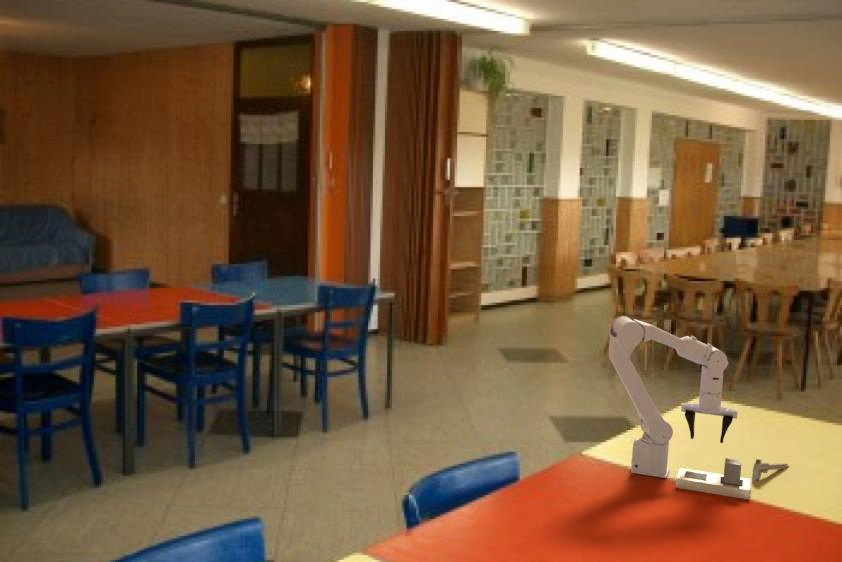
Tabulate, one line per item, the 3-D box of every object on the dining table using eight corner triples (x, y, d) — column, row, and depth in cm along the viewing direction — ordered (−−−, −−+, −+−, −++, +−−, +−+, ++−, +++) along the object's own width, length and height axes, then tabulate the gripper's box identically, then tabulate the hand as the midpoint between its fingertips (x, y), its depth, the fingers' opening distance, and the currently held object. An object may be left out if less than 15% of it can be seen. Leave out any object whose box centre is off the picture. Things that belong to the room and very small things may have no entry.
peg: (722, 492, 228) (724, 462, 227) (723, 487, 232) (725, 458, 231) (738, 495, 227) (741, 465, 226) (739, 490, 231) (741, 460, 230)
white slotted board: (675, 487, 231) (676, 478, 230) (679, 476, 239) (679, 467, 239) (748, 499, 224) (749, 490, 224) (749, 487, 232) (750, 478, 232)
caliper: (755, 483, 237) (757, 461, 236) (751, 482, 237) (753, 459, 237) (789, 467, 251) (791, 446, 250) (785, 466, 251) (787, 445, 250)
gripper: (681, 391, 239) (677, 440, 240) (738, 398, 233) (734, 448, 235) (684, 385, 245) (680, 433, 247) (739, 392, 240) (735, 440, 242)
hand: (706, 440), depth 241 cm, fingers open, 7 cm apart
